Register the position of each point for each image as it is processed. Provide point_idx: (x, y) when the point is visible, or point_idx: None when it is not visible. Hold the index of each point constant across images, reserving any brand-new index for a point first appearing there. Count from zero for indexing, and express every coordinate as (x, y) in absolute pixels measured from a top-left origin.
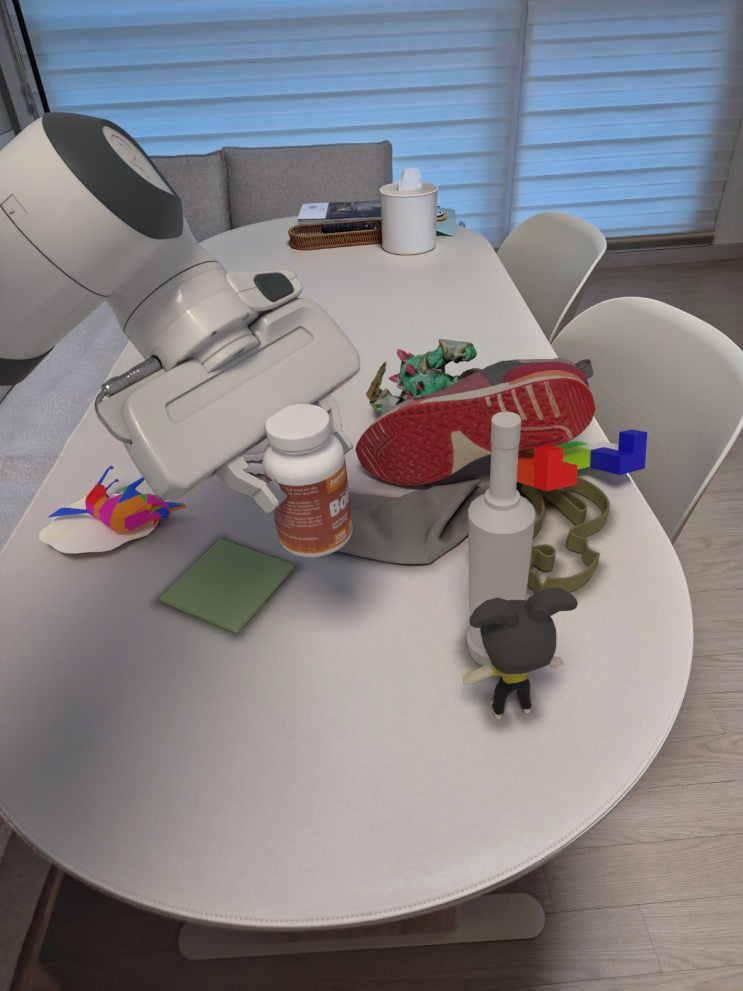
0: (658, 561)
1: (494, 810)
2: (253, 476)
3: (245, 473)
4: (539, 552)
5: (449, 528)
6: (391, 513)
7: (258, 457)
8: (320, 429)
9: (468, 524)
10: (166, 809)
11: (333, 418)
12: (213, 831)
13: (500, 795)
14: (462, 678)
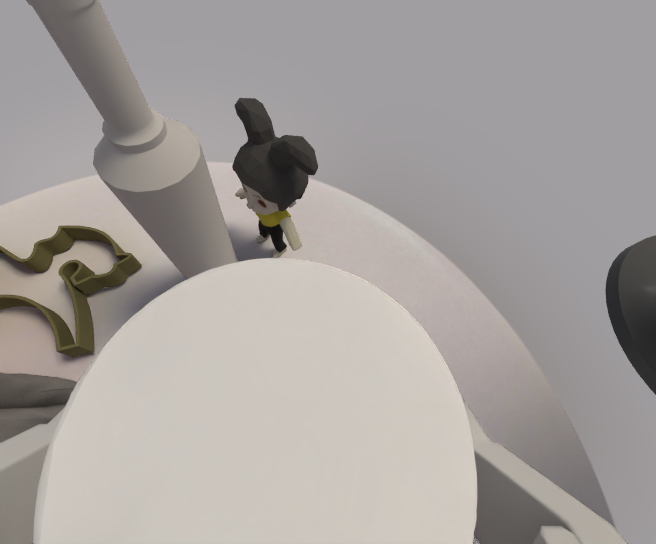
0: (48, 196)
1: (350, 226)
2: (517, 483)
3: (558, 511)
4: (76, 274)
5: (43, 403)
6: None
7: None
8: (292, 261)
9: (172, 205)
10: (512, 436)
11: (2, 466)
12: (492, 384)
13: (338, 226)
14: (297, 248)
